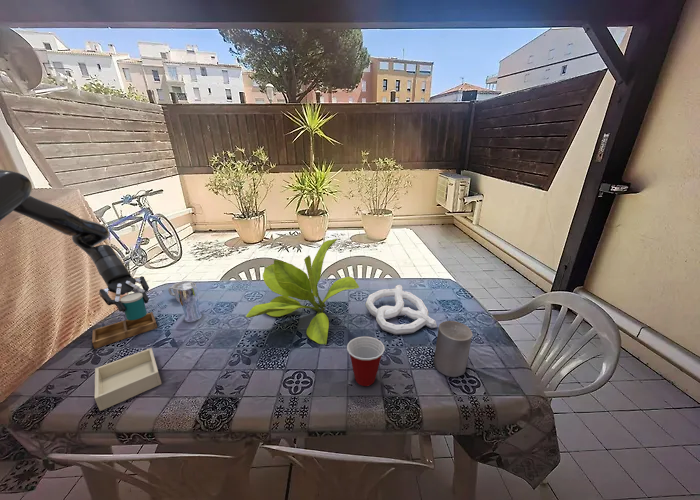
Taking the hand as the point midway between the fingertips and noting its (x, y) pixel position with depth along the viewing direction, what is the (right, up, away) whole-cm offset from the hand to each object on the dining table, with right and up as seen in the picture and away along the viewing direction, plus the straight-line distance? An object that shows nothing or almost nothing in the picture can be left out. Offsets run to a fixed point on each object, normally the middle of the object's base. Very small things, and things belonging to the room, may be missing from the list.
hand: (136, 306), depth 100 cm
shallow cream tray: (+14, -18, -20) cm, 31 cm away
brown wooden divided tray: (-5, -10, +2) cm, 11 cm away
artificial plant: (+60, -7, +11) cm, 61 cm away
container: (-1, -4, +2) cm, 5 cm away
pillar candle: (+111, -16, -13) cm, 113 cm away
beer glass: (+15, -8, +11) cm, 20 cm away
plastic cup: (+83, -18, -18) cm, 87 cm away
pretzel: (+99, -7, +13) cm, 100 cm away
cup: (+2, -2, +25) cm, 25 cm away
